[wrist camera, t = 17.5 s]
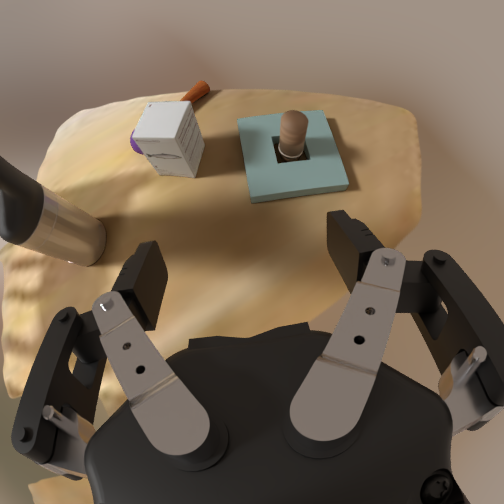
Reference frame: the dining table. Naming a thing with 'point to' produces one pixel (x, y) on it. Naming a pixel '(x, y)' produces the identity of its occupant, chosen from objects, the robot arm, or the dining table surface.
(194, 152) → the supplement box
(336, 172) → the board
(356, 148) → the dining table surface
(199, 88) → the kendama
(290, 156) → the peg
